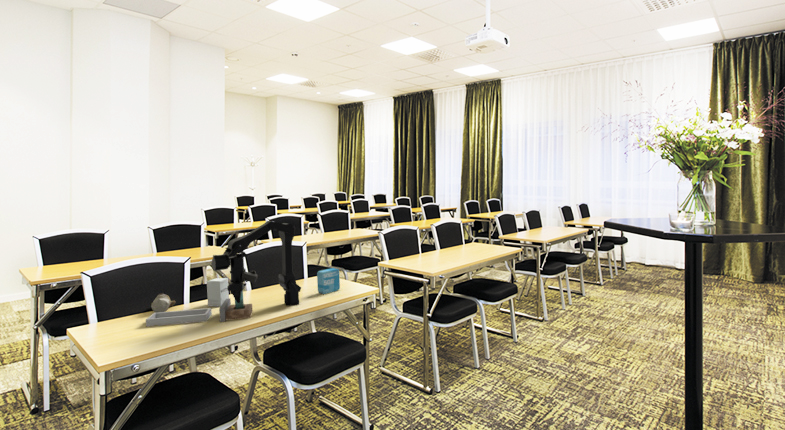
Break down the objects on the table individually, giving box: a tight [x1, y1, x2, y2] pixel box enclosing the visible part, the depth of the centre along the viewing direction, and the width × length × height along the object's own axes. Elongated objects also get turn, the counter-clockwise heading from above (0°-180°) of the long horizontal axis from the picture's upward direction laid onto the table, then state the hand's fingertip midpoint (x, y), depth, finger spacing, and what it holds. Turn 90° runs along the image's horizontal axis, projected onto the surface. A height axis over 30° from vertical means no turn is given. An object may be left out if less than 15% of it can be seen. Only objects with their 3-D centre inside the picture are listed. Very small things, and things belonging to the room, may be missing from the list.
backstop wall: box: [218, 298, 232, 323], centre depth 188 cm, size 2×16×6 cm, turn 12°
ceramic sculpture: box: [150, 292, 176, 313], centre depth 202 cm, size 11×9×15 cm
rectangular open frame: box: [145, 307, 213, 327], centre depth 184 cm, size 24×10×3 cm, turn 102°
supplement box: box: [206, 277, 230, 308], centre depth 208 cm, size 7×7×13 cm
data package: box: [316, 267, 341, 295], centre depth 227 cm, size 12×4×12 cm, turn 139°
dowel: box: [234, 289, 245, 309], centre depth 189 cm, size 4×4×10 cm
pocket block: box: [226, 303, 253, 321], centre depth 189 cm, size 10×10×4 cm
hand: (239, 301), depth 189 cm, fingers closed on dowel, 4 cm apart
